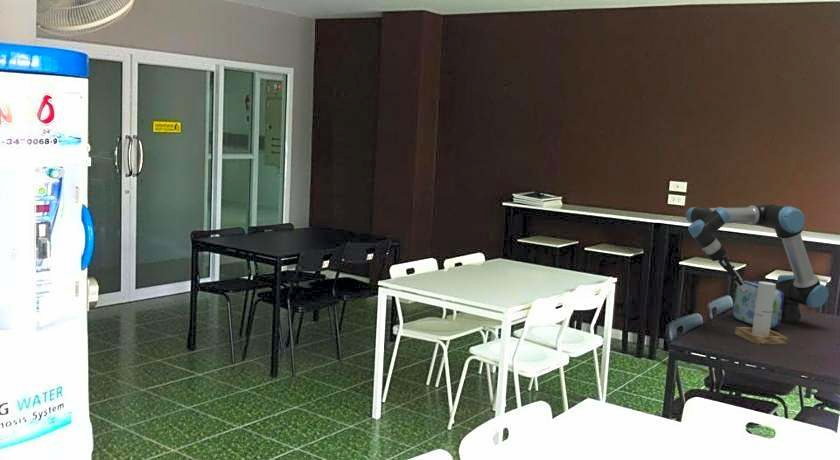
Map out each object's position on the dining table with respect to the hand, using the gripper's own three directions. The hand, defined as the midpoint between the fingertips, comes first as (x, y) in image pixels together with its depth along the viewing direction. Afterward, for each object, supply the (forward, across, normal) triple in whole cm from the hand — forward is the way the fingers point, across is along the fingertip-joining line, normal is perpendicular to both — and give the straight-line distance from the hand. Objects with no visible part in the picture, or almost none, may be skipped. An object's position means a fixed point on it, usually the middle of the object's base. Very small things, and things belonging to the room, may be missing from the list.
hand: (743, 285), depth 375 cm
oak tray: (+21, +11, -8) cm, 25 cm away
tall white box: (+20, +11, -8) cm, 25 cm away
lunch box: (+27, -20, -8) cm, 34 cm away
